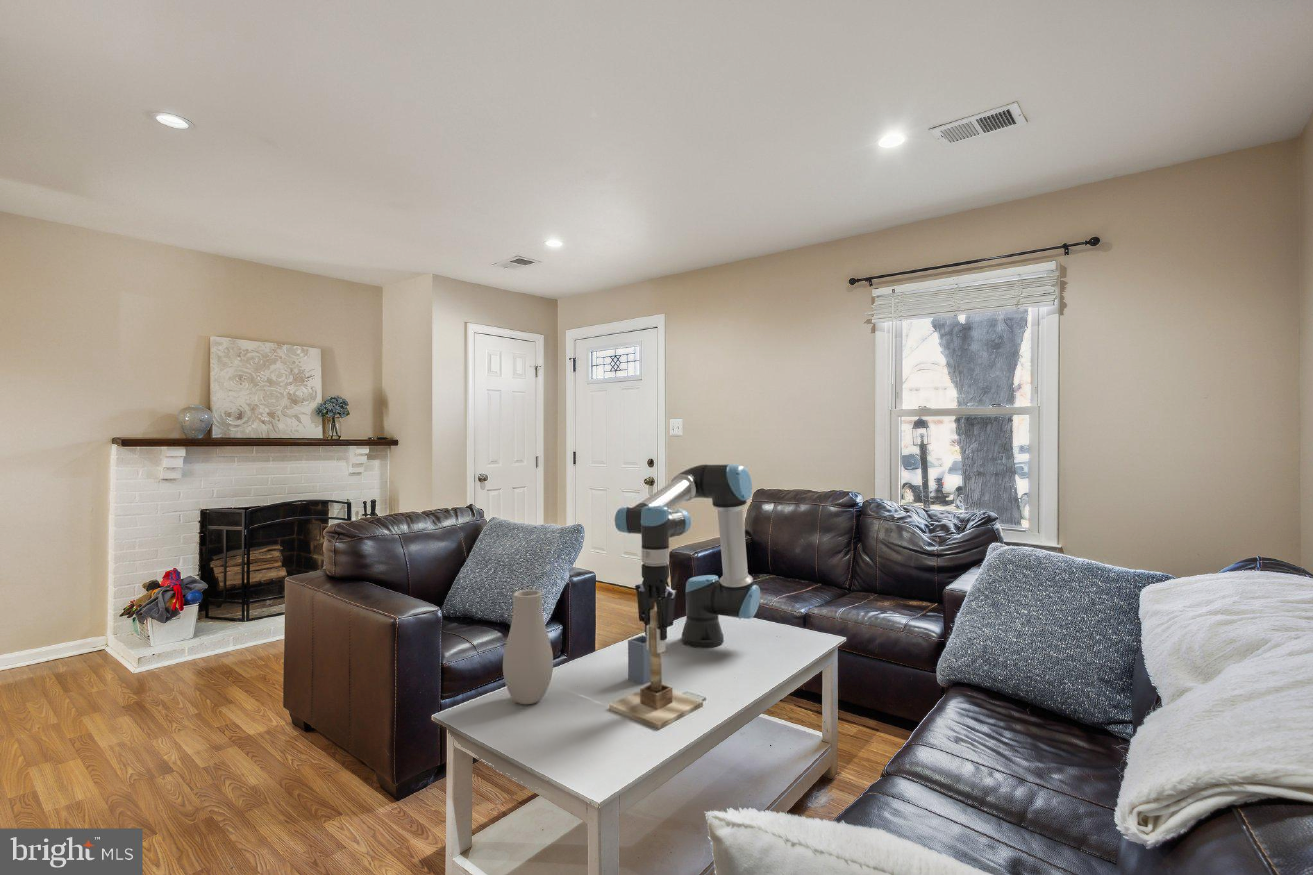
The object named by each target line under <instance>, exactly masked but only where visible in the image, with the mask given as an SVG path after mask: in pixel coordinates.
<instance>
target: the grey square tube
mask: <svg viewBox="0 0 1313 875" xmlns="http://www.w3.org/2000/svg"><path fill="white" fill-rule="evenodd" d="M627 660H628V662H627V664H628V665H627V673H628V674H627V675H628V676H627V677H628V680H630V681H632V682H635V683H639V684H640V685H646V684H648V683H651V670H650V650H647V636H645V634H644V635H643V634H642V635H639V636H636V637H633V638H631V639H629V640H627Z"/></svg>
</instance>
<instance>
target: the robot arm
mask: <svg viewBox="0 0 1313 875" xmlns="http://www.w3.org/2000/svg"><path fill="white" fill-rule="evenodd" d="M750 475H751V474H750V473H749V471H748V470H747V468H746V467H745V466H742V465H738V464H733V463H731V464H706V463H705V464H698V465H695V466H692V467H690V468H688V469H685V470H683V471H681V472H680V473H678V474H676V475H675V476H673V478H671V481H670V483H668V484H666V485H665V486H663V487H662V488H660V489H658V490H657V491H656V492H654V493H653V494H651V495H650V496H648V497H646V498H645V499H643V500H642V501H641V502H639V503H637V504H636V505H634V506H632V507H629V506H626V507H620V508H618V509H617V511H616V513H615V515H614V526H615V529H617V531H618V532H620V533H626V534H638V535H641V562H642V564H641V578H642V582H641V583H638V584H635V586H634V588H635V592H636V598H637V609H638V612H637V613H638V621H639V622H642V623H643V625H644V636H647V650H650V610H651V609H655V605H656V609H657V615H658V624H659V627H657V628H656V629H657V653H661V654H662V653H663V652H665V651H666V640H668V639H667V638H668V628H669V627H672V626H674V617H675V616H674V614H675V600H676V597H677V593H678V592H677V590H676V589H672V588H671V587H670V585H669V581H668V580H669V577H670V564H669V562H670V538H674V537H680V536H682V535H684V534H686V533H687V532H688V531H689V530H690V528H691V525H692V519H691V516H690V514H689V512H688V511H686V510H685V509H682V508H676V507H678V506H679V505H681V504H682V503H683V502H688V501H691V500H693V499H711V503H712V506H713V508H715V509H716V510H717V519H718V521H717V522H718V531H719V532H718V533H719V542H720V544H719V545H720V553H721V554H720V555H721V566H722V575H721V577H720V578H719V576H718V575H715V574H706V575H698V576H697V575H696V576H694V577H690V578H689V579H687V581H686V583H685V584H686V585H685V591H684V592H685V617H686V618H685V623H684V625H683V627H682V628H683V629H682V633H681V642H682V644H684V645H685V646H688V647H693V648H697V649H698V648H703V649H709V648H714V647H715V648H716V647H718V646H720V645H723V644H724V641H725V640H724V638H725V637H724V636H725V635H724V633H723V630H722V627H721V623H720V621H719V616H723V617H730V618H736V619H739V620H741V619H743V620H744V619H746V620H749V619H752V618H754V616H755V615H756V614H757V611H758V609H759V604H760V601H761V590H760V587H759V585H757V584H754V578H753V576H752V575H750V574H749V572H748V571H749V570H748V558H747V557H748V556H747V546H746V544H747V543H746V535H745V534H746V532H745V520H744V510H743V509H744V507H745V506H746V505H747V500H750V498H751V496H752V489H753V484H752V478H751V476H750Z"/></svg>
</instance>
